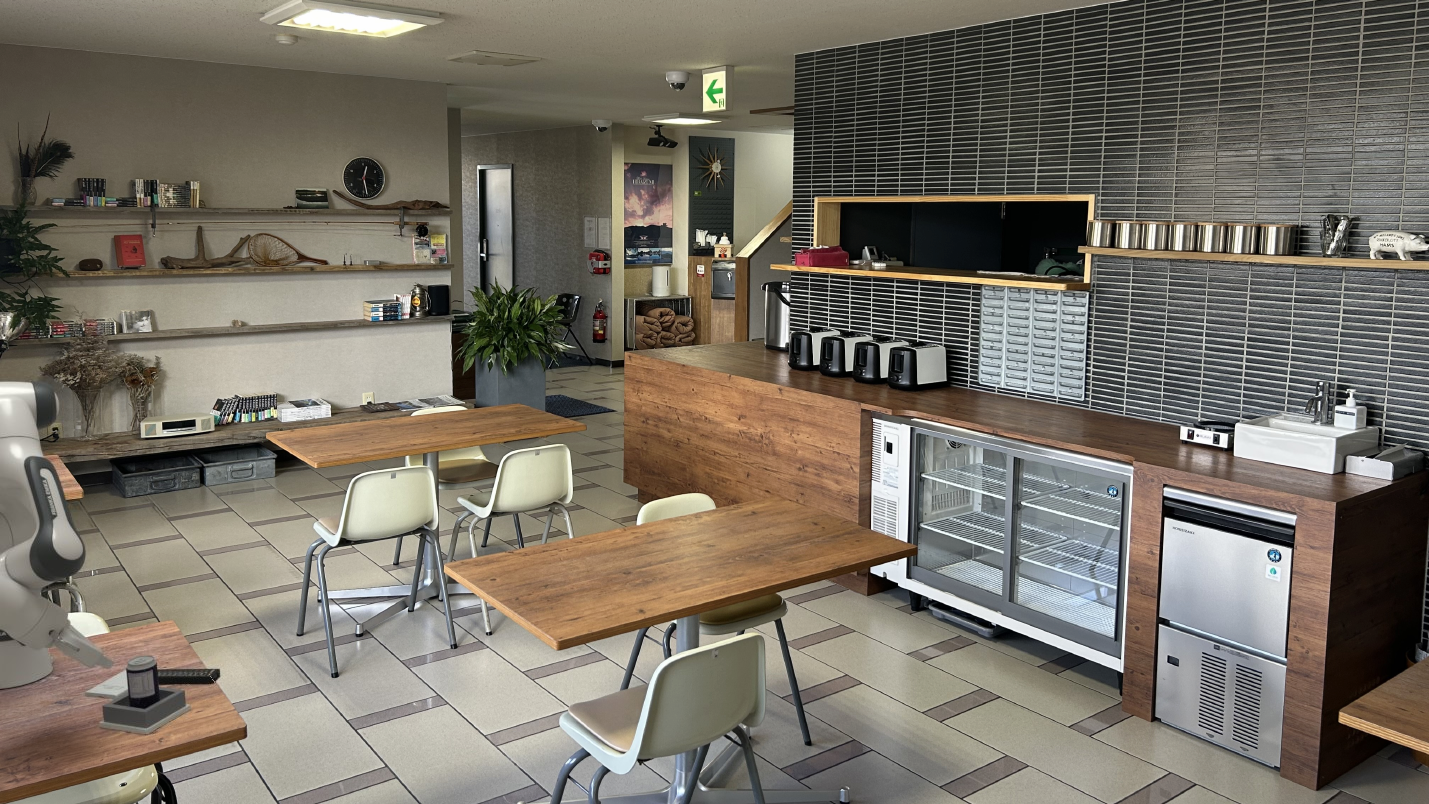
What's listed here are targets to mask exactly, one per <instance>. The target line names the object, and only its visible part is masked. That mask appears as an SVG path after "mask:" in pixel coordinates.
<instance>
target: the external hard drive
mask: <svg viewBox="0 0 1429 804" xmlns="http://www.w3.org/2000/svg"><path fill="white" fill-rule="evenodd" d="M126 693H128V684H127V673H126V669H124V670H123V671H121V672H119V673H117V674H116V675H114V676H112V677H110V678H108V679H107V680H106V679H105V680H104V681H103V682H101V683H99V684H97V685H96V686H94V687H92V688H91V689H89V690H86V691H85V692H84V696H85V697H94V698H104V699H112V700H115V699H117V698H118V697H120V696H122V695H124V694H126Z"/></svg>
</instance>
